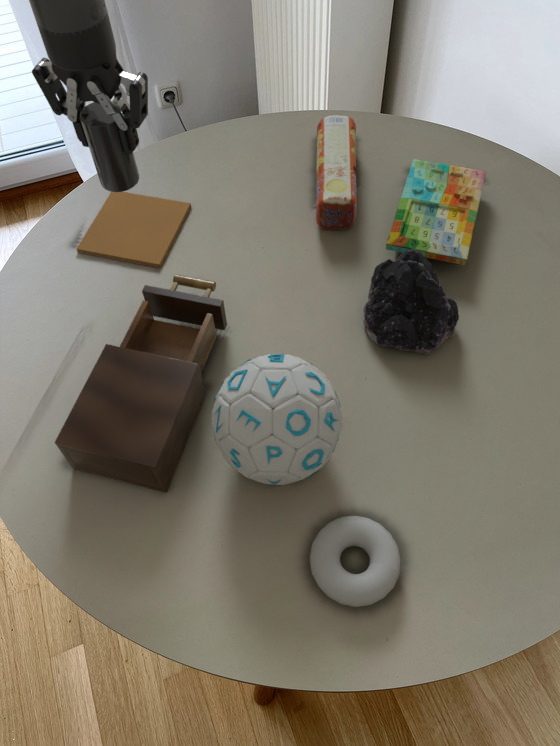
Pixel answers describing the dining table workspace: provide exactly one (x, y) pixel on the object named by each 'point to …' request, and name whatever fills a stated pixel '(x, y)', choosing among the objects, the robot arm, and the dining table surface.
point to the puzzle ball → (276, 419)
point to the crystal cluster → (409, 305)
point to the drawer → (181, 308)
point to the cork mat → (135, 228)
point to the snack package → (336, 173)
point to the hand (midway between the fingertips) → (110, 146)
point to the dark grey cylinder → (108, 150)
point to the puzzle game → (437, 211)
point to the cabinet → (133, 417)
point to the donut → (343, 583)
